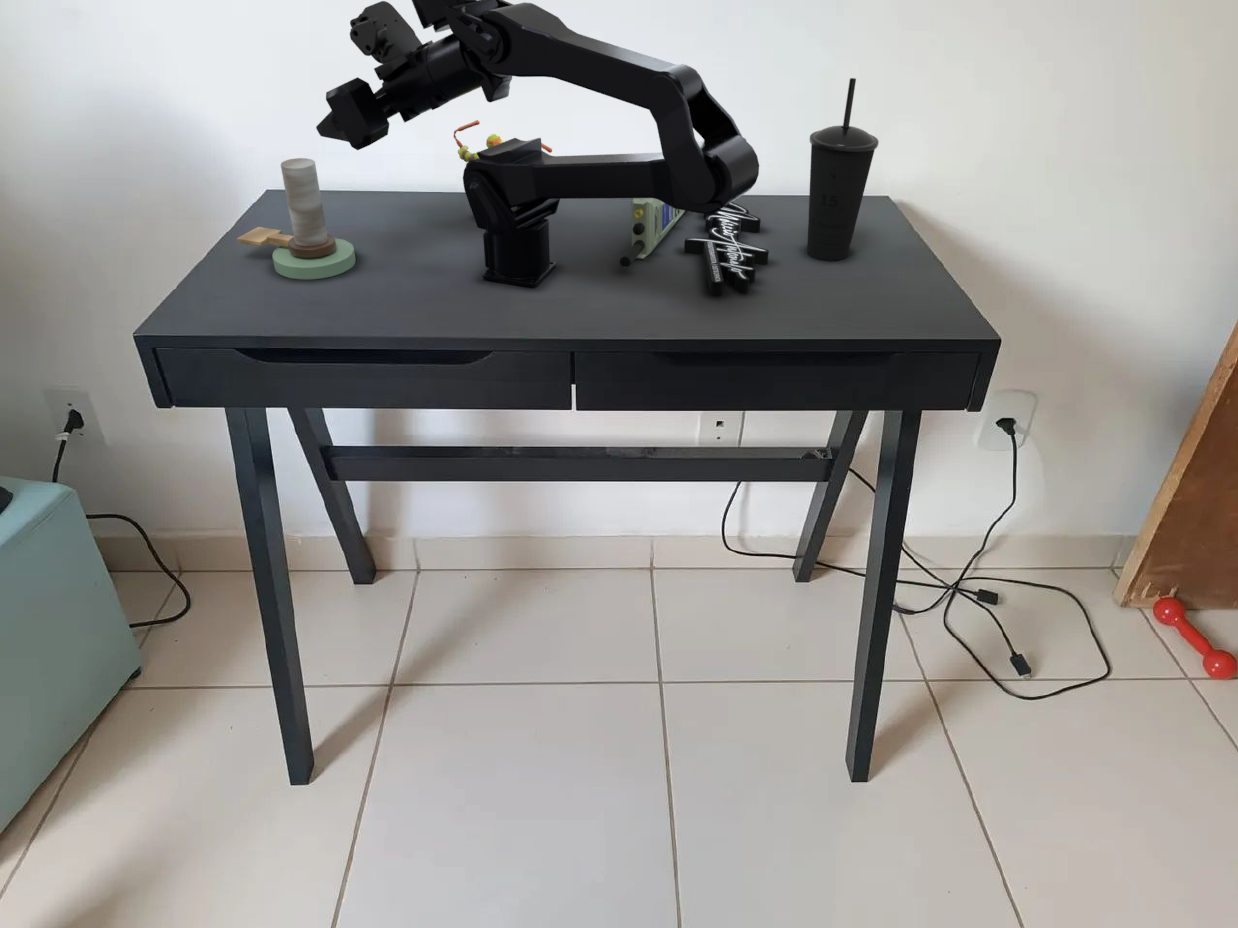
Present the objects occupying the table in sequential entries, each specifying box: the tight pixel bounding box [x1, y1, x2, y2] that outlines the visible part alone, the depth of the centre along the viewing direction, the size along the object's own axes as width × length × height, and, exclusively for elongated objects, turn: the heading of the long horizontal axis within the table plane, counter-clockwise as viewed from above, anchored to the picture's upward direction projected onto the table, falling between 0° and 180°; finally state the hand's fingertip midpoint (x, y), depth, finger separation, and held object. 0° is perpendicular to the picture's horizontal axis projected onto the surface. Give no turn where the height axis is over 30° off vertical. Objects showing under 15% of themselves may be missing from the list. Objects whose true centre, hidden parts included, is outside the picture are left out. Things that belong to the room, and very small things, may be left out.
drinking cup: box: [806, 77, 879, 262], centre depth 108 cm, size 8×8×20 cm
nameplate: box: [683, 201, 770, 297], centre depth 115 cm, size 27×2×10 cm
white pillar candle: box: [236, 157, 336, 258], centre depth 106 cm, size 11×5×10 cm, turn 71°
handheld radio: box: [619, 198, 686, 268], centre depth 116 cm, size 7×3×25 cm
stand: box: [272, 237, 356, 281], centre depth 109 cm, size 9×9×2 cm
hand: (343, 118), depth 107 cm, fingers open, 9 cm apart
